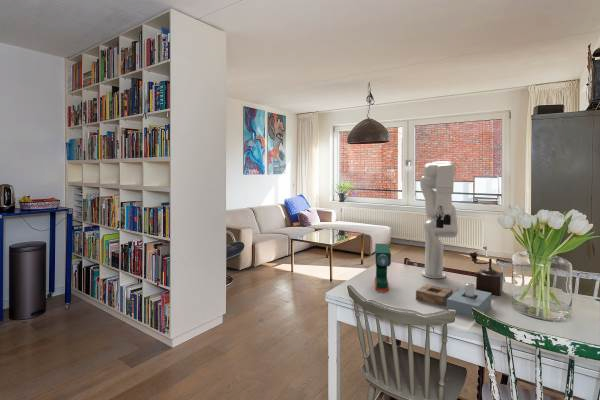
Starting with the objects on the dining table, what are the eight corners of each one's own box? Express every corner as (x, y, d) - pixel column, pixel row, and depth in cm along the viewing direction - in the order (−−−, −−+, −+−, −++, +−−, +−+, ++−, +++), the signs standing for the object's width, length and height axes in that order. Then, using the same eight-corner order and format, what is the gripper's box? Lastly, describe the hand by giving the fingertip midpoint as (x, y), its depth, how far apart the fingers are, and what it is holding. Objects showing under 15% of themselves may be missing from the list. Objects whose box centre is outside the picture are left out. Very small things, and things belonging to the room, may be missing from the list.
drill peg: (465, 304, 150) (466, 282, 149) (474, 307, 147) (475, 284, 146) (463, 307, 147) (464, 284, 146) (472, 309, 145) (473, 286, 144)
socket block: (426, 294, 166) (426, 284, 165) (452, 300, 158) (452, 289, 157) (415, 301, 157) (416, 290, 157) (442, 308, 149) (442, 296, 148)
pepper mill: (503, 290, 170) (505, 254, 169) (499, 297, 162) (501, 259, 160) (469, 284, 180) (470, 250, 178) (463, 290, 171) (465, 254, 170)
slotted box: (462, 299, 159) (462, 286, 158) (490, 306, 151) (491, 292, 150) (446, 312, 144) (446, 298, 143) (477, 321, 136) (478, 306, 135)
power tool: (391, 301, 157) (392, 258, 156) (375, 300, 159) (376, 257, 157) (388, 279, 188) (388, 243, 187) (374, 278, 190) (375, 243, 188)
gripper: (443, 189, 172) (441, 222, 174) (429, 191, 159) (428, 228, 161) (458, 189, 167) (457, 224, 169) (446, 192, 154) (445, 230, 156)
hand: (443, 226), depth 165 cm, fingers open, 9 cm apart
